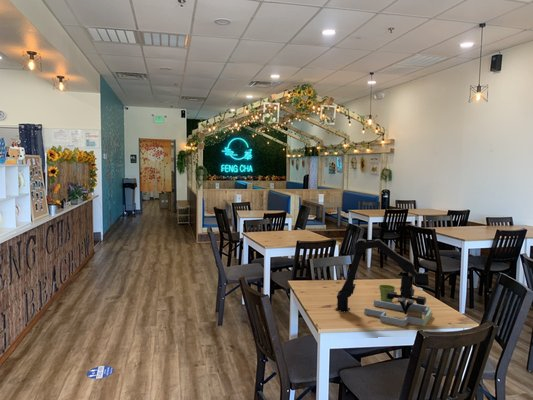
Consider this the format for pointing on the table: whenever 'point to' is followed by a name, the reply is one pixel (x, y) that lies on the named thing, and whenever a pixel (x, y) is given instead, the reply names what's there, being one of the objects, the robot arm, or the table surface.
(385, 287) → the plant pot
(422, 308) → the grey zigzag track
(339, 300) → the robot arm
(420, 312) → the block
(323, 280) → the table surface
